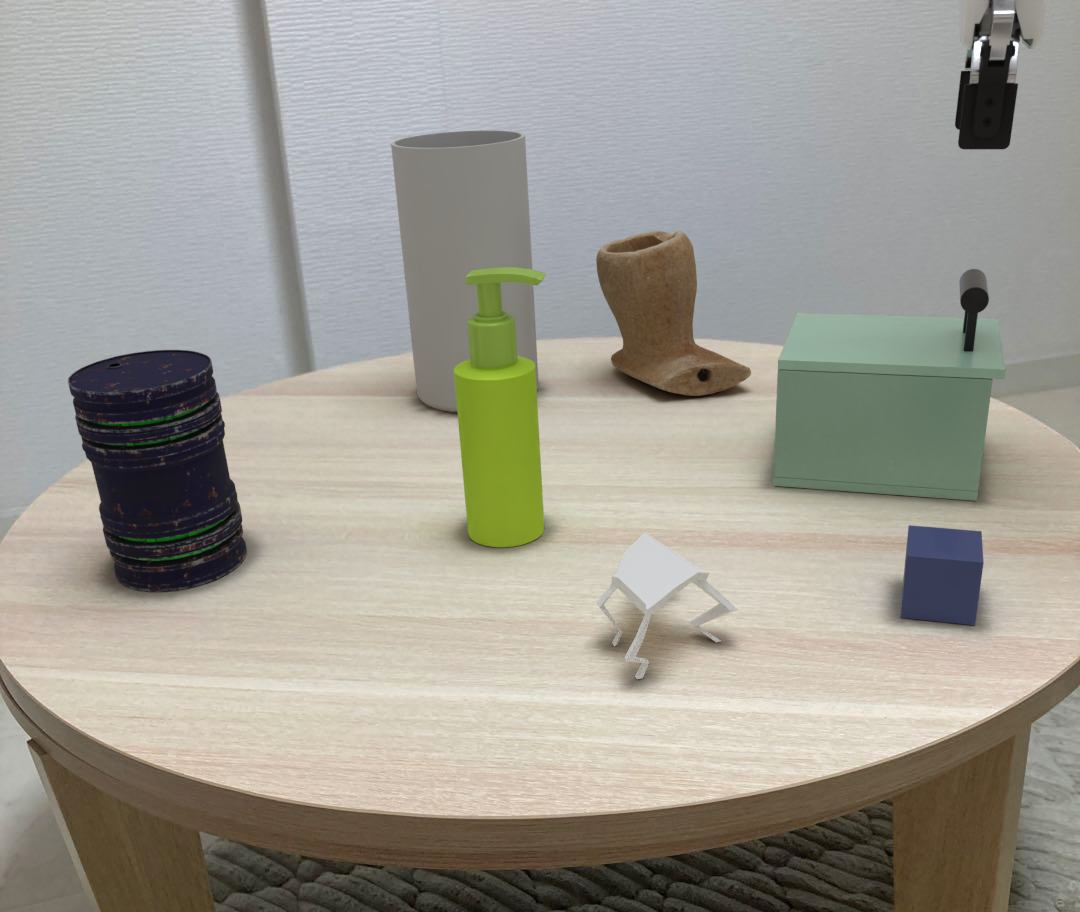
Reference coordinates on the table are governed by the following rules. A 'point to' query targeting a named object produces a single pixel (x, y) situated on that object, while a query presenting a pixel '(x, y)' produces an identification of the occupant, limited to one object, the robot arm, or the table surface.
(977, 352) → the box lid
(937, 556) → the blue block
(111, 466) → the dark blue cylinder
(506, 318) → the soap dispenser
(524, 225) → the cylinder vase
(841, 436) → the green box
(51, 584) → the table surface
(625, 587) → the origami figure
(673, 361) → the clay pipe
